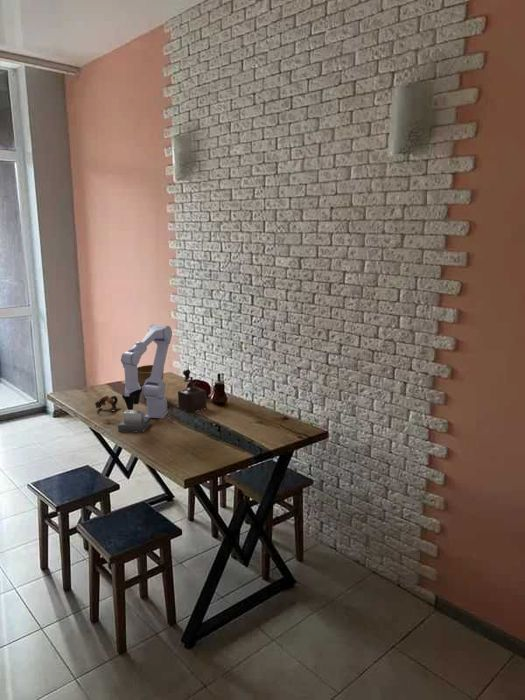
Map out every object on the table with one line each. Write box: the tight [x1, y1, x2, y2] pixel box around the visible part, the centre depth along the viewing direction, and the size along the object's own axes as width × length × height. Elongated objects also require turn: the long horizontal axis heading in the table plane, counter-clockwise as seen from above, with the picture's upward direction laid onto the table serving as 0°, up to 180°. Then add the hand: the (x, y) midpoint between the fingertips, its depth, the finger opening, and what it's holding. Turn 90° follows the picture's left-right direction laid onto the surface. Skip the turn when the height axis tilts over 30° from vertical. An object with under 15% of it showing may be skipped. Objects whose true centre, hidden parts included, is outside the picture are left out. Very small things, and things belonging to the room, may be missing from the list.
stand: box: [117, 417, 151, 433], centre depth 245 cm, size 11×11×3 cm
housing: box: [122, 409, 145, 423], centre depth 244 cm, size 8×4×5 cm, turn 84°
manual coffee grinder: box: [177, 369, 208, 414], centre depth 271 cm, size 16×11×18 cm
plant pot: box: [137, 364, 164, 398], centre depth 288 cm, size 15×15×16 cm
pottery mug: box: [94, 395, 118, 411], centre depth 270 cm, size 12×9×8 cm
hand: (133, 406), depth 245 cm, fingers open, 7 cm apart
